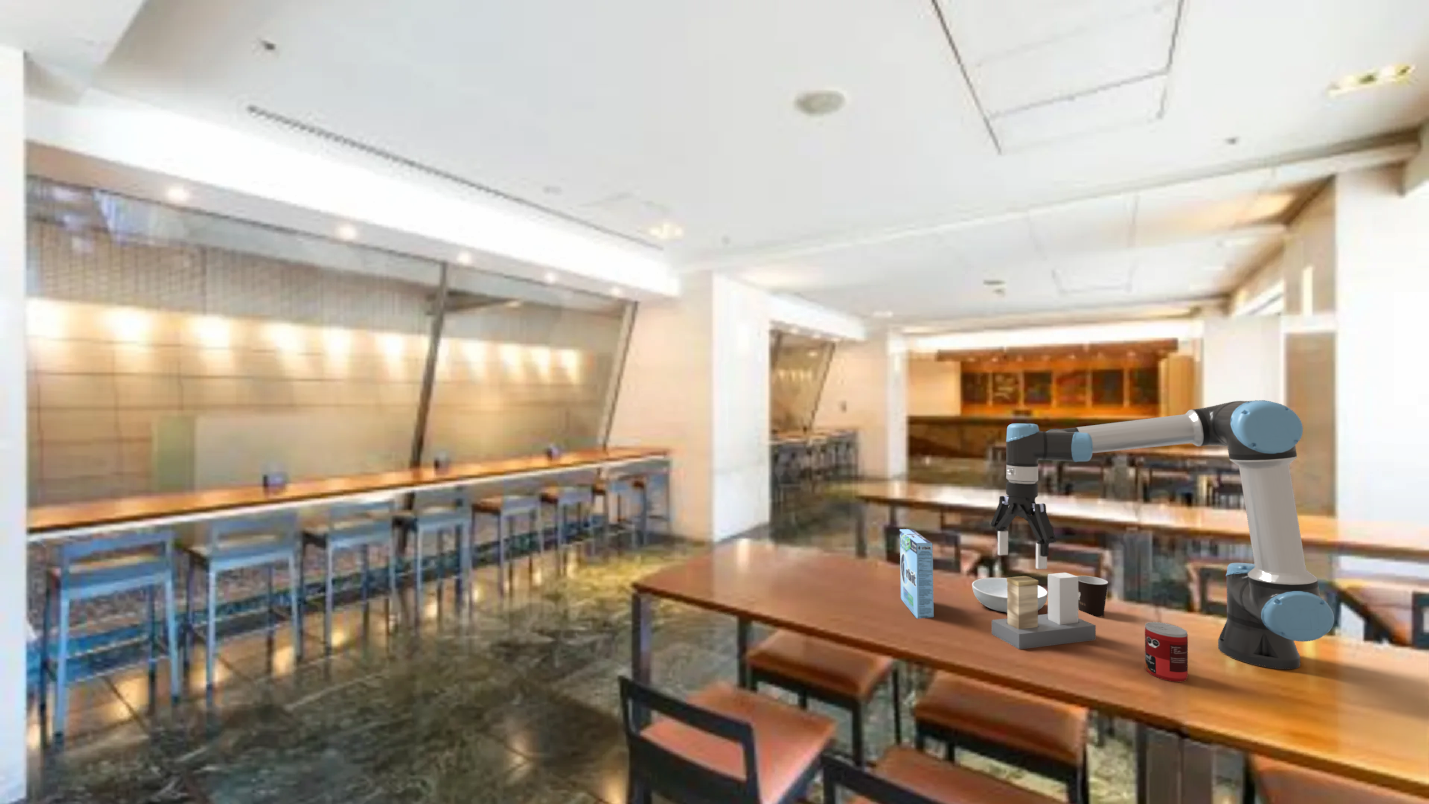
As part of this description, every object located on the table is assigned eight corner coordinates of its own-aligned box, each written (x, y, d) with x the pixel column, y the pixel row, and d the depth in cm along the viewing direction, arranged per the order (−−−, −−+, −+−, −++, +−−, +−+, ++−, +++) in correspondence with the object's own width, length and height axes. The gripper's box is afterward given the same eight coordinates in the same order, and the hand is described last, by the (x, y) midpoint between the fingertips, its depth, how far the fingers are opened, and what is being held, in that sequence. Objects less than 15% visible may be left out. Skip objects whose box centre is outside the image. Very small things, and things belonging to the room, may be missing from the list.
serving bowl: (976, 594, 195) (976, 573, 195) (1048, 605, 184) (1048, 583, 184) (967, 613, 177) (967, 591, 177) (1046, 627, 166) (1046, 603, 166)
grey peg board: (1095, 644, 154) (1095, 625, 154) (1019, 653, 149) (1019, 634, 149) (1064, 629, 164) (1064, 612, 164) (991, 638, 158) (991, 620, 158)
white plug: (1078, 636, 157) (1078, 576, 157) (1059, 638, 155) (1059, 578, 155) (1066, 630, 160) (1065, 572, 161) (1047, 632, 159) (1047, 574, 159)
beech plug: (1038, 641, 153) (1038, 580, 153) (1018, 643, 152) (1018, 582, 152) (1026, 635, 157) (1026, 575, 158) (1006, 637, 156) (1006, 577, 156)
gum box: (933, 621, 171) (933, 543, 171) (916, 620, 171) (916, 543, 171) (915, 598, 190) (914, 528, 190) (899, 598, 191) (899, 528, 191)
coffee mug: (1107, 620, 171) (1107, 586, 171) (1073, 613, 176) (1072, 580, 176) (1109, 609, 181) (1109, 576, 181) (1077, 603, 186) (1077, 571, 186)
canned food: (1146, 664, 143) (1145, 619, 143) (1188, 673, 137) (1187, 627, 138) (1143, 675, 137) (1143, 628, 137) (1187, 686, 132) (1187, 637, 132)
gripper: (977, 475, 166) (977, 550, 166) (1047, 488, 142) (1046, 576, 142) (1000, 475, 168) (999, 548, 168) (1072, 488, 144) (1072, 574, 144)
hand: (1021, 561), depth 155 cm, fingers open, 13 cm apart
